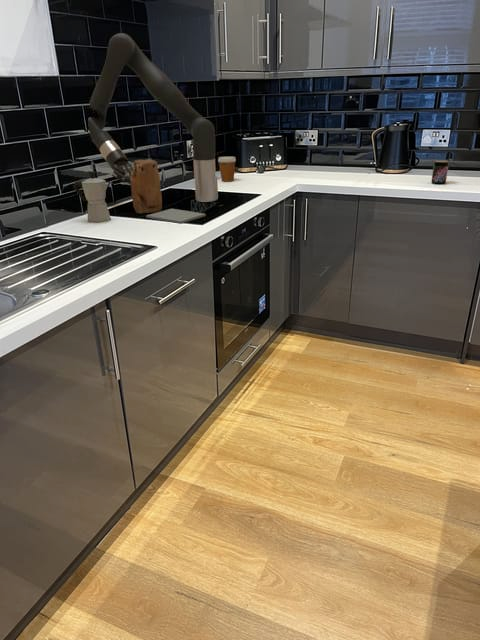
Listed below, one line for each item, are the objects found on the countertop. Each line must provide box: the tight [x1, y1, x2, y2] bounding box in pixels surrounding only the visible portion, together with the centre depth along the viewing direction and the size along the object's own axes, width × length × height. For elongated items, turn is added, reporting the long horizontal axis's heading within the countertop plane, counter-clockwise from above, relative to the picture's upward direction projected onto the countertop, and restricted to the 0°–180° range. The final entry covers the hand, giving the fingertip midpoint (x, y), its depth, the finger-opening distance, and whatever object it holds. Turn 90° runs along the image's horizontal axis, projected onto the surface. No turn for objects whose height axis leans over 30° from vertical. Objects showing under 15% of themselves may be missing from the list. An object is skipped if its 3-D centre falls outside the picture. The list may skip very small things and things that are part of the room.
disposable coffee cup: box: [217, 156, 237, 183], centre depth 255 cm, size 10×10×12 cm
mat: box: [145, 208, 207, 225], centre depth 186 cm, size 14×18×1 cm
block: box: [130, 158, 163, 215], centre depth 190 cm, size 11×8×20 cm
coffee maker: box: [73, 170, 112, 224], centre depth 180 cm, size 15×9×18 cm, turn 74°
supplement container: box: [430, 159, 450, 186], centre depth 234 cm, size 7×7×10 cm
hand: (137, 188), depth 194 cm, fingers closed
